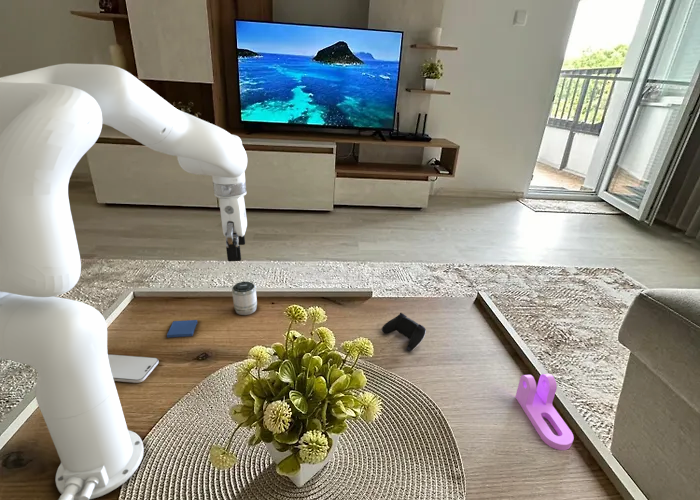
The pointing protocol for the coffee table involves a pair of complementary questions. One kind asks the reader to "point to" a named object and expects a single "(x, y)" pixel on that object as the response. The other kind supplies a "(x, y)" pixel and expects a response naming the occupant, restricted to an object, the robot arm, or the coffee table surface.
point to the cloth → (182, 328)
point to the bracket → (543, 410)
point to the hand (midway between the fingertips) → (236, 252)
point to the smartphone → (131, 367)
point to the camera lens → (244, 298)
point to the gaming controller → (406, 330)
